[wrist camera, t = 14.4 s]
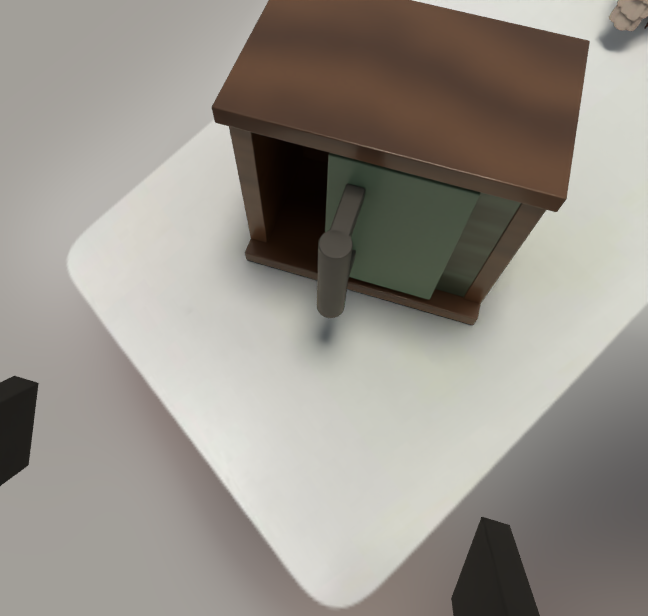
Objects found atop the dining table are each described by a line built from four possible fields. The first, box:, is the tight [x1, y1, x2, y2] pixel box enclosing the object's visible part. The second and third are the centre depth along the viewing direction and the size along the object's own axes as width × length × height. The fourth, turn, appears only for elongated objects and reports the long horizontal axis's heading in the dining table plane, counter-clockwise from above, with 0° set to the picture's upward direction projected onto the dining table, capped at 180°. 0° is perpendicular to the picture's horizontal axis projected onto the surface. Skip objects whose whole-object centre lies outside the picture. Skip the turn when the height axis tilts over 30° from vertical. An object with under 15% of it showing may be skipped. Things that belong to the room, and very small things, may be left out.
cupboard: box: [212, 0, 590, 325], centre depth 31 cm, size 10×16×14 cm, turn 73°
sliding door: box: [317, 153, 481, 318], centre depth 28 cm, size 5×7×11 cm
